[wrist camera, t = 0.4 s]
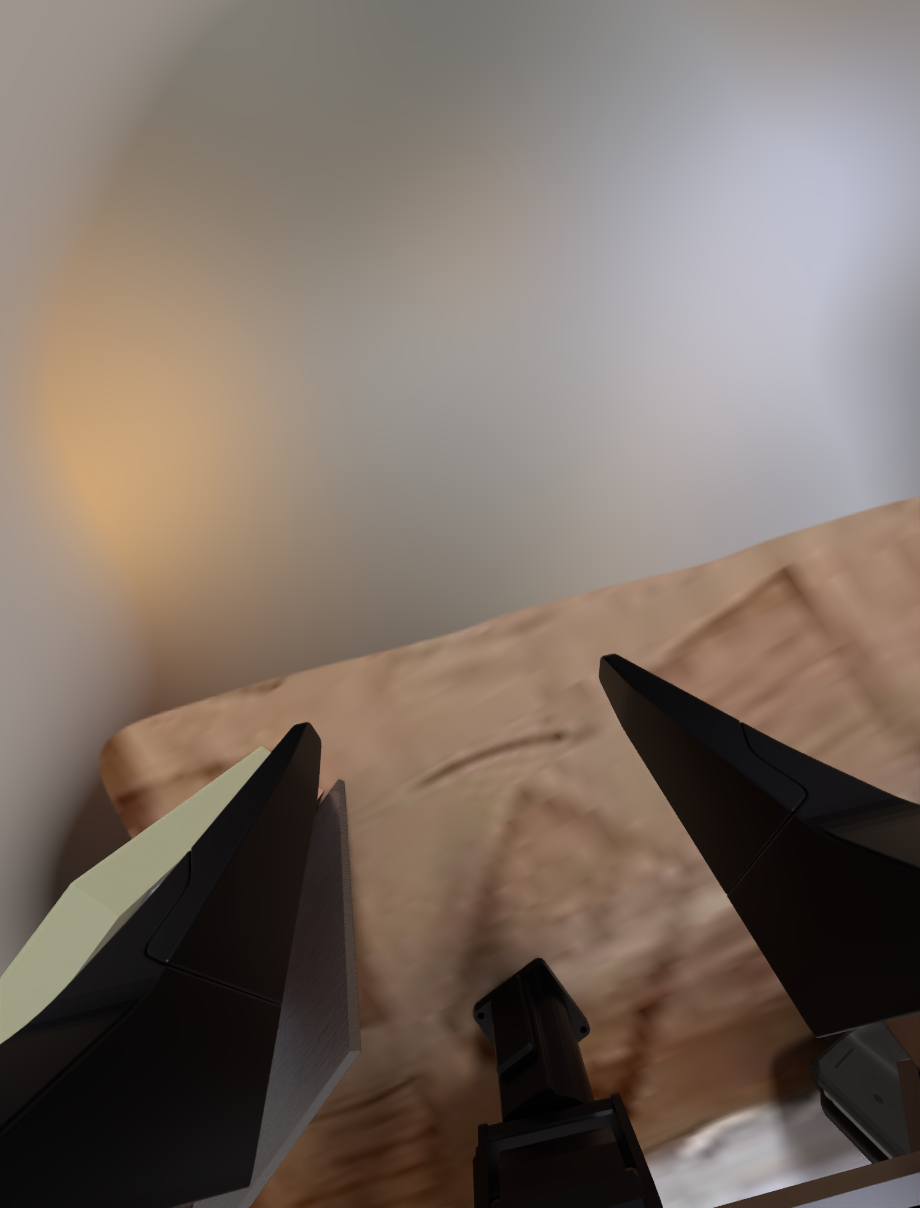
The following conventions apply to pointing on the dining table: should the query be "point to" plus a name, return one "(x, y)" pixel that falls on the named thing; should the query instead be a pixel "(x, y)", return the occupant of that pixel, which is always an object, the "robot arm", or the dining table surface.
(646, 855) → the dining table surface
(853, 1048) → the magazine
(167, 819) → the book row
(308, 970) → the bookend
